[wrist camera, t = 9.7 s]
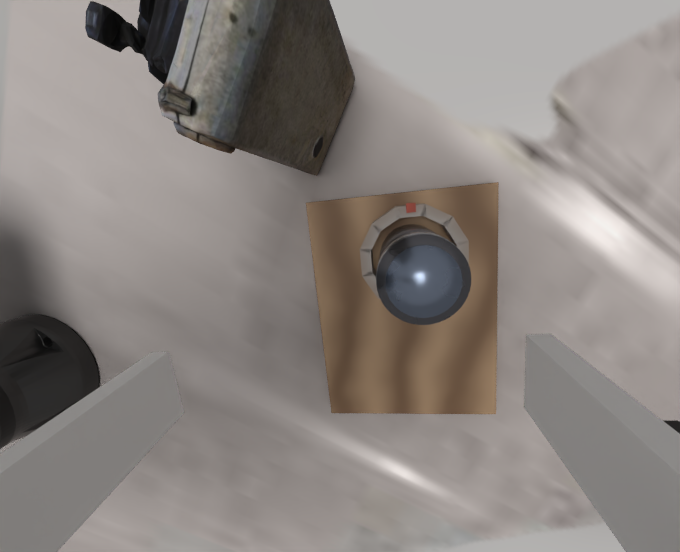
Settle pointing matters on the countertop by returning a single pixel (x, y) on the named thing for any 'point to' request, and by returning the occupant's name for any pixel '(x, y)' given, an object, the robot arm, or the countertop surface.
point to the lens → (421, 275)
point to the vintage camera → (242, 71)
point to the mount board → (387, 330)
